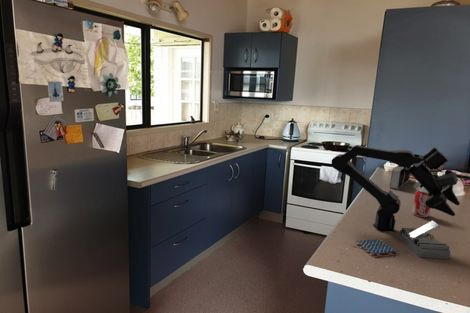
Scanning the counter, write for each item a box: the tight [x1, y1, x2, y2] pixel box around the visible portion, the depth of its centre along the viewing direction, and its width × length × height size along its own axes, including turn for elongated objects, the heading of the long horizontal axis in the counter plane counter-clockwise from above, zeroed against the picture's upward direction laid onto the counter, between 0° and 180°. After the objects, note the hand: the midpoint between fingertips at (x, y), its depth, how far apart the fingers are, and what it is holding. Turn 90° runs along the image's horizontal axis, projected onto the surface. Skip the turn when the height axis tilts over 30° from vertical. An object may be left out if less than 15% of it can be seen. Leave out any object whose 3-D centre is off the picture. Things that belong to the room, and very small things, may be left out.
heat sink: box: [398, 227, 451, 260], centre depth 126 cm, size 10×16×5 cm, turn 178°
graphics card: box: [389, 164, 413, 190], centre depth 214 cm, size 33×5×14 cm, turn 142°
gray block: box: [407, 220, 440, 240], centre depth 125 cm, size 10×4×1 cm
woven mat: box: [355, 238, 399, 258], centre depth 123 cm, size 10×11×2 cm
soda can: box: [412, 188, 432, 218], centre depth 159 cm, size 7×7×12 cm
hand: (456, 210), depth 129 cm, fingers open, 9 cm apart
